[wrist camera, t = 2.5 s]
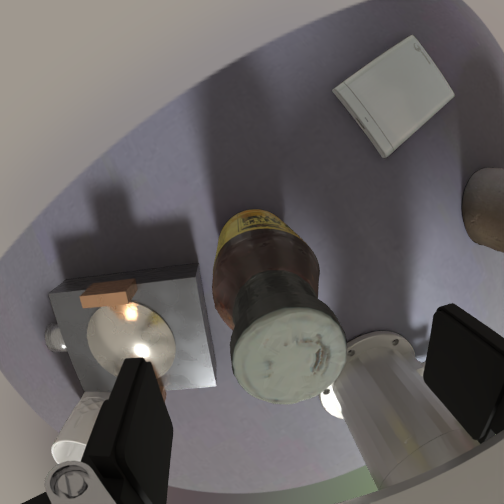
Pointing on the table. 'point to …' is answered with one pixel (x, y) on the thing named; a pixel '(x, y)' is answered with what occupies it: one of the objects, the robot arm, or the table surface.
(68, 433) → the white cup
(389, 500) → the robot arm
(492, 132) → the table surface
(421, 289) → the table surface
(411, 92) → the hard drive
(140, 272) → the block
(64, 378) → the table surface
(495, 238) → the pillar candle
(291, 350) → the sauce bottle
